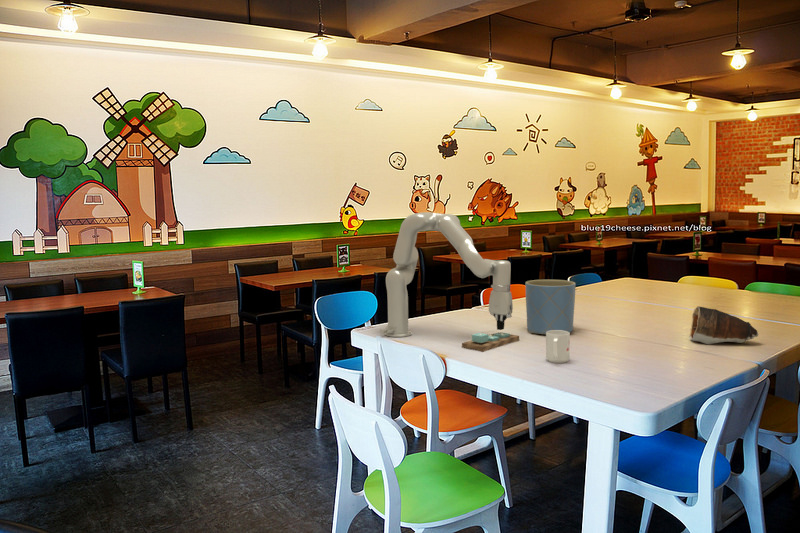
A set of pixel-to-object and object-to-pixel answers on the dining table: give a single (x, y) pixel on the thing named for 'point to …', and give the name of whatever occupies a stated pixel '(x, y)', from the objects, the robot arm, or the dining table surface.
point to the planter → (550, 305)
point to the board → (489, 343)
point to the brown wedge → (719, 327)
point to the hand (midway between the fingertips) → (500, 329)
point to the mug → (557, 346)
